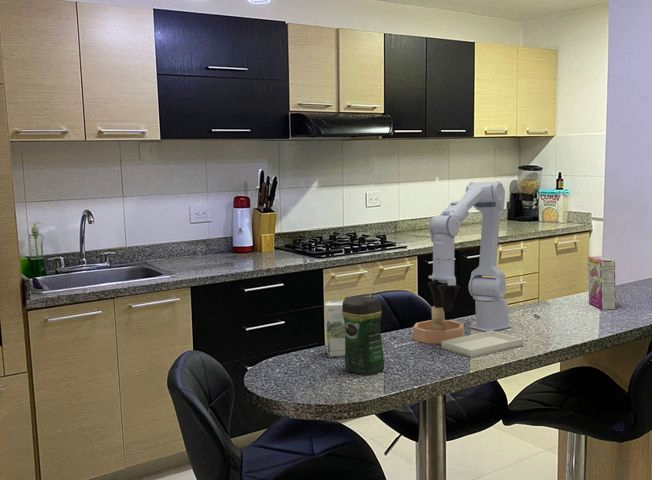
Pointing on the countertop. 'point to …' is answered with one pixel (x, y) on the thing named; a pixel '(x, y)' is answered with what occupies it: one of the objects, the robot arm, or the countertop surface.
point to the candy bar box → (601, 282)
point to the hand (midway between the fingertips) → (443, 309)
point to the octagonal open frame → (437, 332)
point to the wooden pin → (438, 319)
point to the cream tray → (481, 344)
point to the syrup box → (335, 328)
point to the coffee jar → (363, 335)
